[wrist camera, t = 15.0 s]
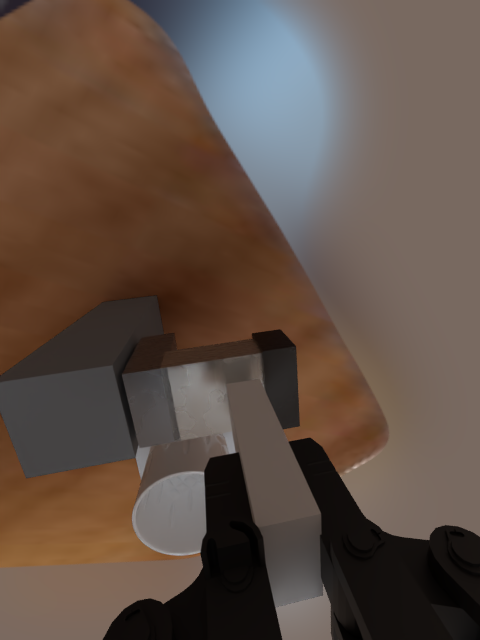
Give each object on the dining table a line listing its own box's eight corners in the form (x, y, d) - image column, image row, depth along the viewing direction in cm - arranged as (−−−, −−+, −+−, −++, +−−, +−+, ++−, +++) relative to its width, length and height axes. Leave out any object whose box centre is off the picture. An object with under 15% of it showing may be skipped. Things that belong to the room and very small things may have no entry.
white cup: (141, 409, 29) (116, 491, 20) (217, 388, 30) (227, 458, 21) (164, 469, 32) (151, 568, 22) (233, 448, 32) (250, 537, 23)
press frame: (145, 478, 33) (105, 680, 18) (102, 302, 27) (-11, 383, 12) (255, 457, 35) (303, 626, 20) (238, 285, 29) (287, 339, 14)
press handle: (153, 397, 19) (139, 455, 14) (140, 334, 18) (118, 373, 13) (273, 378, 20) (299, 425, 15) (268, 316, 19) (295, 346, 14)
